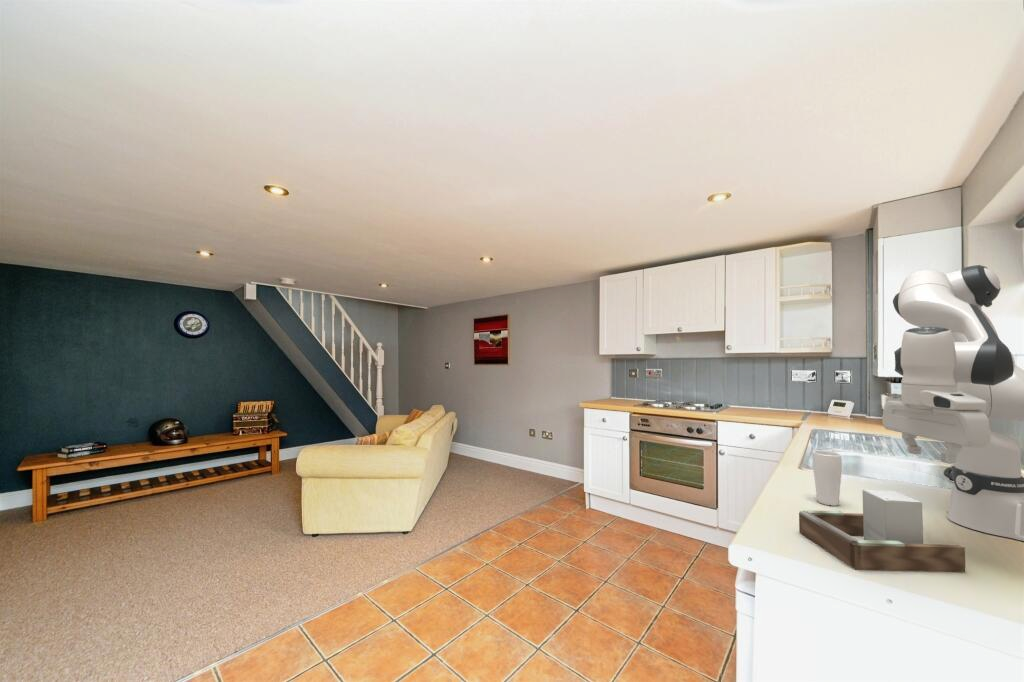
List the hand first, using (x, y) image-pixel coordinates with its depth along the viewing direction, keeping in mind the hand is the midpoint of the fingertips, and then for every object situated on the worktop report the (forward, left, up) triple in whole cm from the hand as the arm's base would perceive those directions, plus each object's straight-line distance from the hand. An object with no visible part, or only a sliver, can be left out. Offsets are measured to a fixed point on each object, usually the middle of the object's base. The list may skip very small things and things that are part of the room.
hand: (930, 457), depth 88 cm
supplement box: (+9, 0, -22) cm, 23 cm away
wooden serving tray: (+13, 0, -21) cm, 25 cm away
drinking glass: (+2, -28, -21) cm, 35 cm away
